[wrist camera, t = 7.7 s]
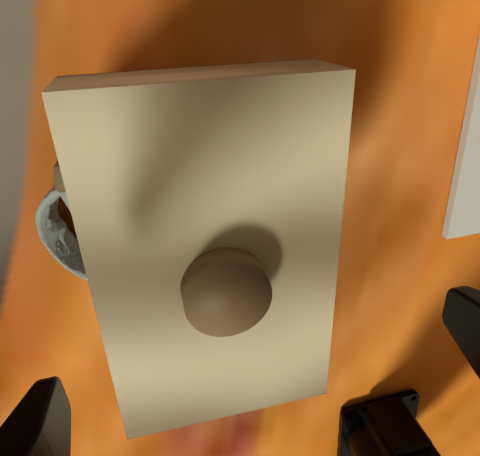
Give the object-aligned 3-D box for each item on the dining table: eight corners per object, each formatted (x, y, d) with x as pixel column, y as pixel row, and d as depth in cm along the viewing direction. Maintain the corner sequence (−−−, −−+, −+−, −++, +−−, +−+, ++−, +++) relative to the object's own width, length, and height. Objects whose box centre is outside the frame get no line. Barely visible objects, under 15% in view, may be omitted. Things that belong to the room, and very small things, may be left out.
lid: (301, 347, 17) (335, 412, 14) (126, 383, 16) (127, 462, 13) (316, 59, 12) (373, 74, 9) (57, 75, 11) (33, 99, 8)
